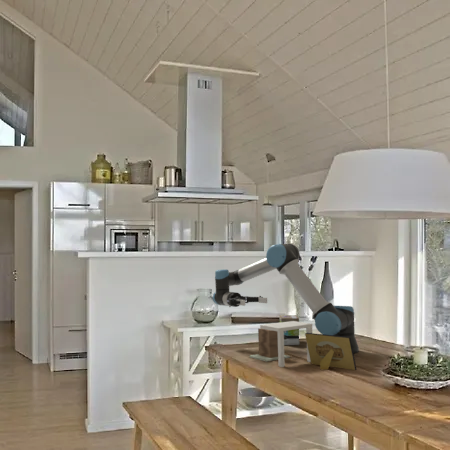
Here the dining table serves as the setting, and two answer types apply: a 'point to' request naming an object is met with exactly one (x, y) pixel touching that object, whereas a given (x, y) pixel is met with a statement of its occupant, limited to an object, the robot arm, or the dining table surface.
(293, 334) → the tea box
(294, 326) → the small white table
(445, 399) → the dining table surface
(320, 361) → the picture frame
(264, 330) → the walnut block
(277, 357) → the mat
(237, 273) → the robot arm
